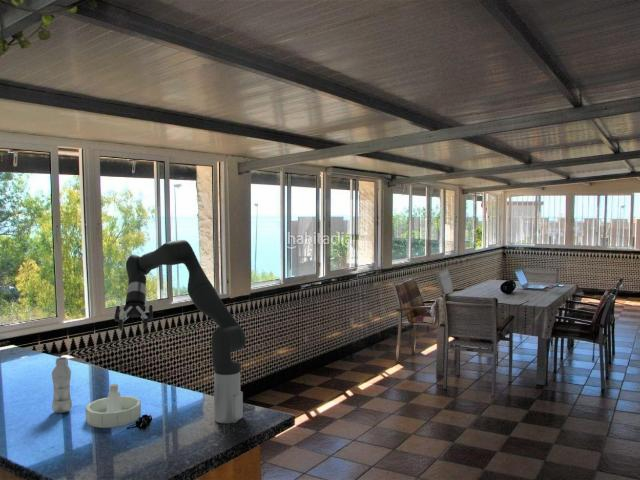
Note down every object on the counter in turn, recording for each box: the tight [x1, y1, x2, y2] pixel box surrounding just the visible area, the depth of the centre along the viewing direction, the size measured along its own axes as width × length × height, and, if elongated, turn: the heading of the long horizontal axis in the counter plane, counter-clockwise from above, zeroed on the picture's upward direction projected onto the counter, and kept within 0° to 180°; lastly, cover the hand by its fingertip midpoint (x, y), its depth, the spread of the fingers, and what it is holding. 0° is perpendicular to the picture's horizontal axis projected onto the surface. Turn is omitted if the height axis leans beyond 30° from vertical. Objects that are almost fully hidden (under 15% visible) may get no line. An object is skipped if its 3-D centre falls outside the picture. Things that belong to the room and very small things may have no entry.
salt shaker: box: [106, 383, 122, 413], centre depth 191 cm, size 5×5×11 cm
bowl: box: [85, 395, 142, 429], centre depth 191 cm, size 18×18×5 cm
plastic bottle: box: [51, 357, 73, 414], centre depth 197 cm, size 6×7×20 cm
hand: (132, 329), depth 208 cm, fingers open, 8 cm apart
